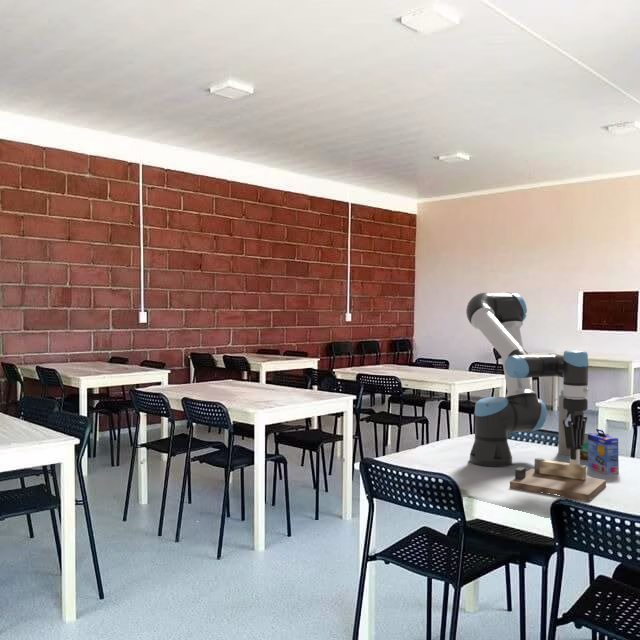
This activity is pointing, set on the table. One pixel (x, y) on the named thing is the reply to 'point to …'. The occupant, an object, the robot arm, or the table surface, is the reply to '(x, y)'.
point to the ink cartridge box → (603, 453)
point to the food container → (585, 448)
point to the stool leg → (560, 469)
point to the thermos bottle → (562, 427)
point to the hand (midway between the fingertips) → (574, 468)
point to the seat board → (557, 484)
